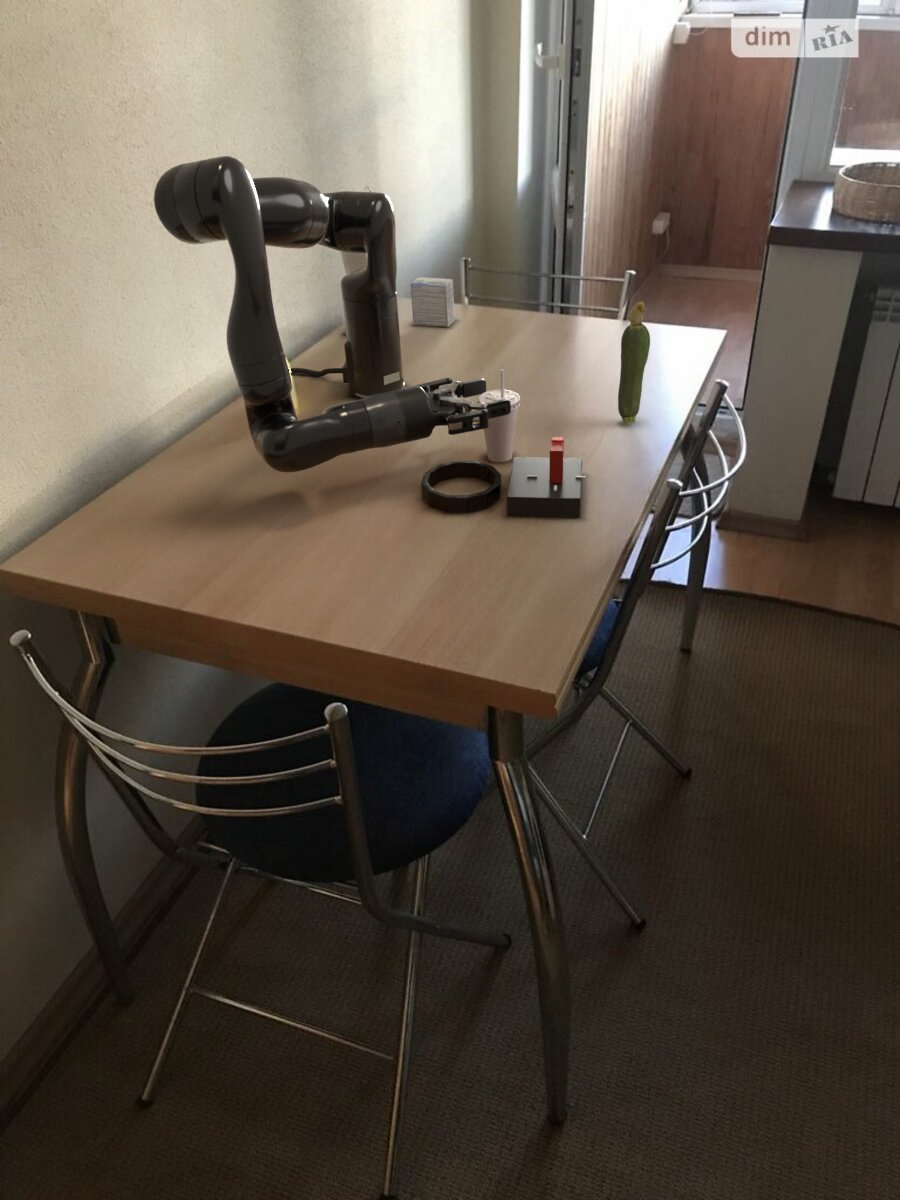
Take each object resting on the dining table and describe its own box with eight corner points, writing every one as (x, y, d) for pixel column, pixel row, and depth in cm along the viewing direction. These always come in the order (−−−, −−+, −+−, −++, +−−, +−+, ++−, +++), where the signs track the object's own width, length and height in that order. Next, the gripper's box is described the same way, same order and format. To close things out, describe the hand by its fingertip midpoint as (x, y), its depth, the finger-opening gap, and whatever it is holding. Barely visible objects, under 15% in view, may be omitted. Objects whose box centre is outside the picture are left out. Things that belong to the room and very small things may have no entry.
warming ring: (417, 512, 134) (416, 496, 132) (429, 474, 143) (428, 459, 141) (497, 514, 132) (496, 498, 131) (504, 476, 141) (503, 461, 140)
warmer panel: (507, 515, 132) (506, 495, 130) (513, 475, 141) (513, 455, 140) (584, 517, 130) (585, 497, 128) (585, 476, 140) (586, 457, 138)
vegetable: (613, 417, 156) (620, 295, 145) (640, 415, 156) (648, 293, 145) (620, 428, 152) (627, 304, 141) (646, 426, 153) (656, 302, 141)
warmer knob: (562, 483, 132) (563, 449, 129) (549, 483, 132) (549, 449, 129) (563, 470, 135) (564, 436, 132) (550, 470, 136) (551, 436, 133)
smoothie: (517, 467, 143) (517, 379, 135) (475, 465, 144) (472, 377, 136) (523, 448, 148) (523, 362, 140) (482, 446, 150) (480, 360, 142)
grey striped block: (455, 320, 198) (453, 278, 193) (448, 328, 195) (446, 285, 190) (420, 318, 200) (417, 276, 195) (412, 325, 197) (409, 283, 192)
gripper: (410, 411, 128) (518, 388, 133) (375, 376, 139) (476, 355, 144) (413, 461, 133) (518, 437, 137) (380, 423, 144) (478, 401, 148)
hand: (497, 395), depth 141 cm, fingers open, 8 cm apart
